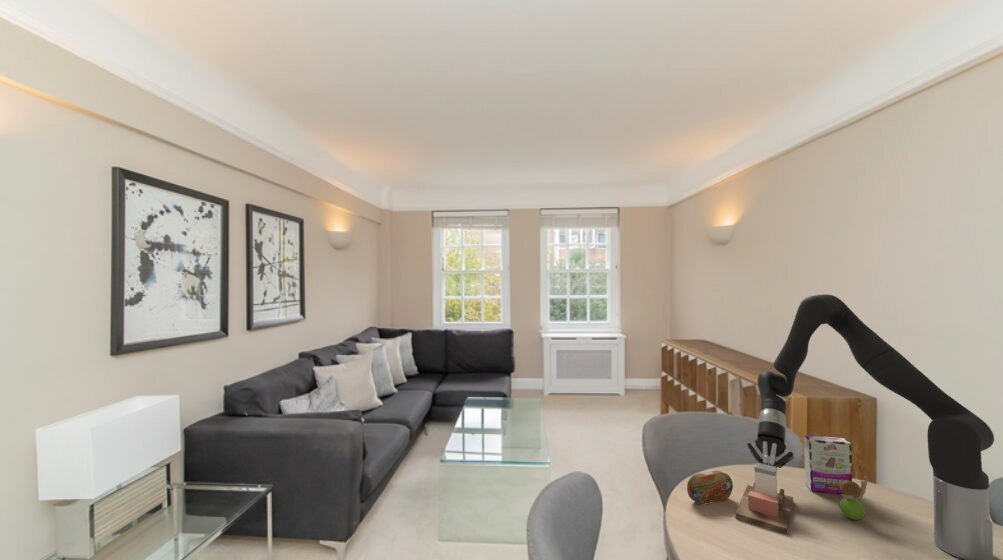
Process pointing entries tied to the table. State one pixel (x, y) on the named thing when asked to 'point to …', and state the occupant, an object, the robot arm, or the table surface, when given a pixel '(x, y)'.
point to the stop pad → (763, 504)
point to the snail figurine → (853, 499)
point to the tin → (709, 487)
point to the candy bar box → (827, 463)
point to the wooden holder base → (764, 519)
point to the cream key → (766, 479)
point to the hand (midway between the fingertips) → (767, 477)
